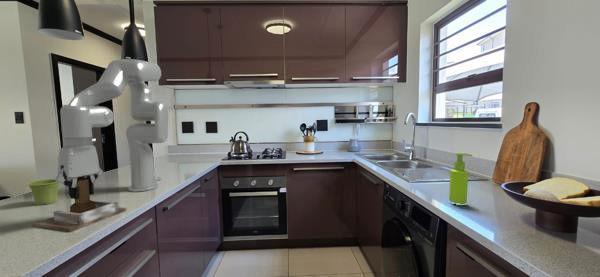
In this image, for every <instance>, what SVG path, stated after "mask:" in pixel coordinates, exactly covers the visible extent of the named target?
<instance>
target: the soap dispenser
mask: <svg viewBox="0 0 600 277" xmlns="http://www.w3.org/2000/svg"><path fill="white" fill-rule="evenodd" d="M455 156H456V157H457V158H456V161H454V165H453V166H454V168H453V169H450V172H449V177H450V178H449V196H448V198H449V199H448V201H449V200H450V201H451V202H454V203H460V204H465V203H467V204H468V185H469V184H468V183H469V182H468V181H469V171H468V170H465V164H466V163H465V161H463V156H468V157H473V155H472V154H469V153H463V152H460V153H459V152H458V153H456V152H455Z"/></svg>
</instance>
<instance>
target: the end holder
mask: <svg viewBox="0 0 600 277" xmlns="http://www.w3.org/2000/svg"><path fill="white" fill-rule="evenodd" d="M92 201H93V202H95V206H96V209H93V210H90V211H87V212H84V213H81V214H80V213H72V212H70V211H64V210H56V211H53V216H52V217H49V218H46V219H42V220H40V221H39V220H38V221H35V222H33V227H38V228H42V229H49V230H57V231H63V232H69V233H70V232H71V233H72V232H74V231H77V230H79V229H82V228H84V227H87V226H89V225H93V224H96V223H98V222H100V221H103V220H105V219H108V218H111V217H113V216H117V215H119V214H122V213H124V212H126V211H127V208H126V207H121V206H119V203H118V201H117V202H116V201H106V200H97V199H93V200H92Z"/></svg>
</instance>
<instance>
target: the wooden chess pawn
mask: <svg viewBox="0 0 600 277" xmlns="http://www.w3.org/2000/svg"><path fill="white" fill-rule="evenodd" d="M76 187H78V189H79V198H78V199H74V203H72V204H71V205H70V207H69V212H72V213H80V214H81V213H84V212H87V211H90V210H93V209H96V206H95V202H93V200H91V195H90V193H89V178H85V176H82V177H77V184H76Z"/></svg>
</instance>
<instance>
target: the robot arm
mask: <svg viewBox="0 0 600 277" xmlns="http://www.w3.org/2000/svg"><path fill="white" fill-rule="evenodd" d="M161 77H162V70H161V67H160V66H159V65H158V64H157V63H155V62H151V61H145V60H140V59H114V60H112V61H111V62H109V64H108V65H107V66H106V68H105V69H104V71H103V73H102V74H101V76H100V78H99V80H98V81H97V82H96V83H94V84H92V85H90V86H89V87H87V88H85V89H83V90H81V91H80V92H78V93H77V94H75V96H74V97H72V99H71V100H70V101H69V103H68V105H64V106H62V107H61V108H60V109H59V110H60V124H61V134H62V147H61V148H59V150H58V157H57V175H56V177H55V178H54V179H55V181H56V182H59V183H60V184H62V185H63V186H66V187H67V188H68V196H69V198H70V199H72V200H75V199H78V198H79V189H78V187H76V184H77V179H78V177H82V176H84V178H89V193H90V196H91V195H94V194H95V192H94V191H95V185H94V183H96V180H97V179H98V178H99V176H101V175H102V174H103V172H104V171H103V170H102V168H101V167H100V162H99V155H98V152H97V148H96V146H95V145H94V143H95V142H96V141H97V140H96V138H93V128H105V127H108V126H110V125H111V124H112V123H113V122H114V121H115V114H114V112H113V111H112V109H110V108H109V107H107V106H101V105H100V106H98V104H101V103H104V102H107V101H111V100H114V99H117V98H118V97H120V96H122V95H123V92H124V91H125V88H126V86H128V87H129V89H130V116H131V118H132V119H133V120H135V121H139V122H154V123H133V124H130V125H129V126H128V127H127V128H126V130H125V135H126V136H125V137H126V140H127V144H128V151H129V163H130V164H129V165H130V177H131V178H130V179H131V183H130V184H131V185H129V186H127V190H128V192H136V193H137V192H146V191H150V190H151V191H152V190H154V189H156V188H158V187H159V184H158V183H157V182H159V181H162V180H163V178H162V176H157V177H156V176H155V165H154V151H153V149H152V147H151V146H150V145H149V144H163V143H165V142H166V141H167V139H168V135H169V110H168V107H167V104H166V103H164V102H163V101H160V100H159V101H158V100H156V101H155V100H153V95H152V90H151V88H150V87H149V85H148V84H147V83H145V82H157V81H159V80H160V79H161ZM96 105H97V106H96ZM65 178H66V179H65Z"/></svg>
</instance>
